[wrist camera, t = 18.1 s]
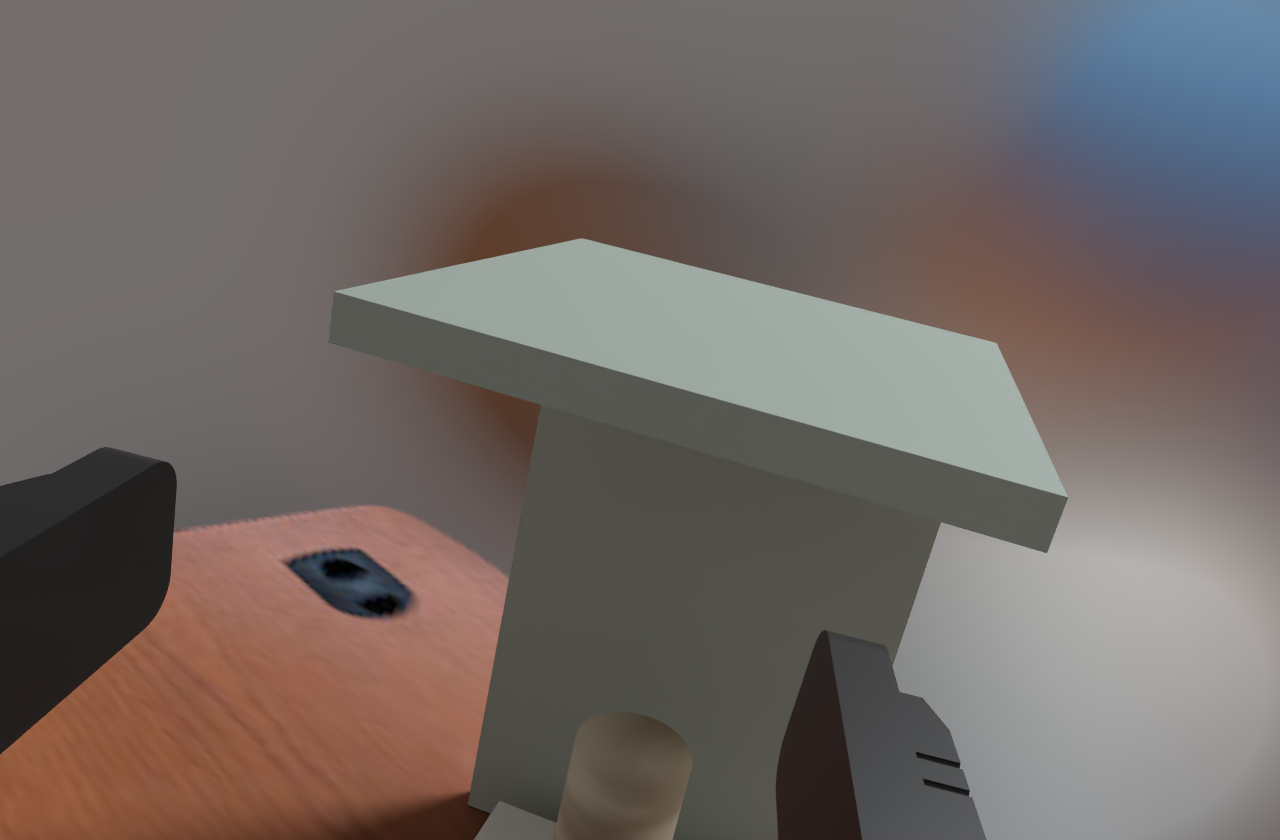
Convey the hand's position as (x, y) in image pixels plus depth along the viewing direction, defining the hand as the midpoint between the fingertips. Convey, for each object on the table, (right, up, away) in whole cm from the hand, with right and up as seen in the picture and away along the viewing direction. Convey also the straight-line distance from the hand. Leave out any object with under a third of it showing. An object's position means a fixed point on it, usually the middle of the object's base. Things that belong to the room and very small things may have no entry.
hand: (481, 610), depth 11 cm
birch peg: (-1, -20, +24) cm, 31 cm away
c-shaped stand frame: (-1, -20, +24) cm, 31 cm away
